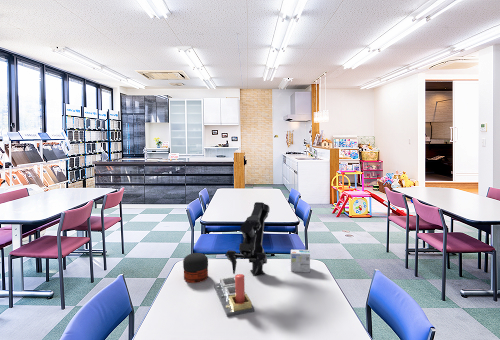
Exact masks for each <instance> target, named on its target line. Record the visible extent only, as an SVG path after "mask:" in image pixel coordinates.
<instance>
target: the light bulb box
mask: <svg viewBox="0 0 500 340" xmlns="http://www.w3.org/2000/svg"><path fill="white" fill-rule="evenodd" d="M291 271H294V272H295V273H310V272H311V253H310V249H290V272H291ZM294 272H293V273H294Z"/></svg>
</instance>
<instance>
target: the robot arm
mask: <svg viewBox="0 0 500 340" xmlns="http://www.w3.org/2000/svg"><path fill="white" fill-rule="evenodd" d="M269 213H270V205H269V204H267V203H265V202H263V201H262V202H259V201H256V202H254V204H253V209H252V212H251V214H250V216H247V218H246V220H245V221H244V222H243V223H242V224H241V225H240V227H239V228H240V232H241V234H242V237H243V240H242V243H241V242H240V243H239V247H238V248H239V249H238V251H239V252H240V253H237V252H236V251H235V250H227V251H226V254H225V256H226V258H227V260H228V261H229V262H231V265H232V274H233V275H236V268H237V263H238V261H237V259H244V260H245V259H246V260H248V263H251V264H252V265H251V266H252V269H250V273H251V274H252V276H253V277H255V276H260V275H265V274H266V273H265V271H264V270H263V267H264V265H265V264H267V263H268V257H267V254H266V253H265V250H264V248H263V239H264V228H265V221H266V220H267V218H268V217H269Z"/></svg>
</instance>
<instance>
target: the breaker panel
mask: <svg viewBox="0 0 500 340" xmlns="http://www.w3.org/2000/svg"><path fill="white" fill-rule="evenodd" d="M213 287H214V290H215V292H216V295H217V297H218V299H219V302H220V304H221V306H222V308H223V310H224V313H225V315H226V317H231V316H237V315H238V316H239V315H242V314H243V315H244V314H247V313H253V312H255V307H254V305H253V303H252V301H251V299H250V298H249V296H248V294H247V293H245V302H244V303H238V304H236V303H235V276H229V277H222V278H219V283H214V284H213Z"/></svg>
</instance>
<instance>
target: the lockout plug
mask: <svg viewBox="0 0 500 340" xmlns="http://www.w3.org/2000/svg"><path fill="white" fill-rule="evenodd" d="M234 275H235V276H234V277H235V303H236V304H238V303H244V302H245V294H246V291H245V287H246V286H245V275H244V274H240V273H239V274H234Z"/></svg>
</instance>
